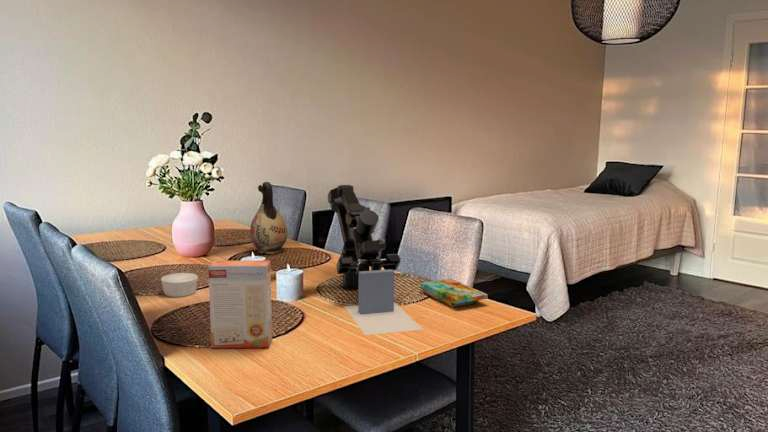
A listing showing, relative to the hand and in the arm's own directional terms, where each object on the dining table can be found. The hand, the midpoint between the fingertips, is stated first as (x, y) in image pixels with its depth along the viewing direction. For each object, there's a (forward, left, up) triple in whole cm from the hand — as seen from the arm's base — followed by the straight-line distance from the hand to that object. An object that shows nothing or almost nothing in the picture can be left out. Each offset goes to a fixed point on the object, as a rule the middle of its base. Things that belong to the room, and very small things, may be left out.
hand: (373, 288), depth 169 cm
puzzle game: (+7, +26, -7) cm, 28 cm away
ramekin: (-52, -37, -7) cm, 64 cm away
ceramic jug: (-84, +14, -7) cm, 85 cm away
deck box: (+2, -1, -6) cm, 7 cm away
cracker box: (-1, -42, -7) cm, 43 cm away
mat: (+7, -3, -7) cm, 10 cm away
